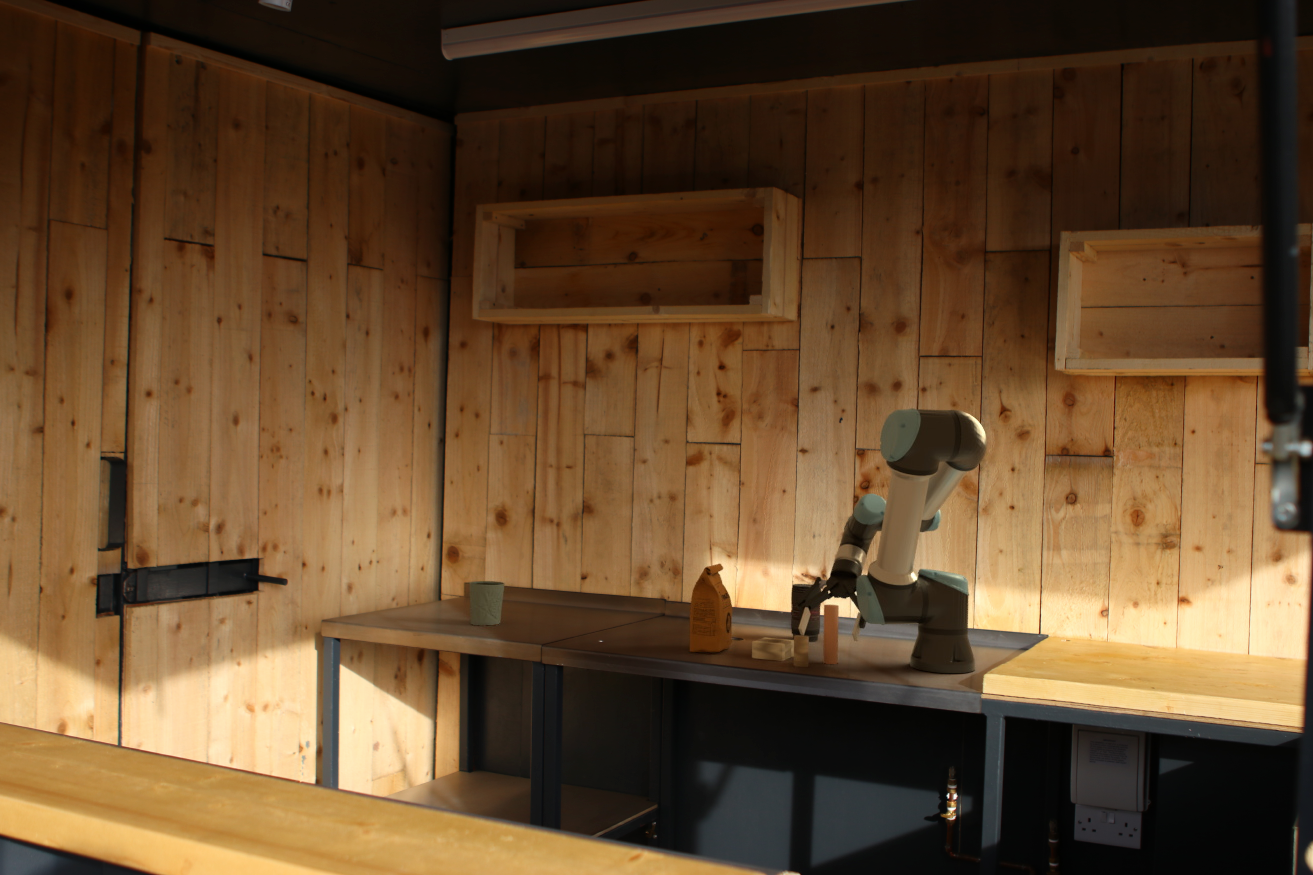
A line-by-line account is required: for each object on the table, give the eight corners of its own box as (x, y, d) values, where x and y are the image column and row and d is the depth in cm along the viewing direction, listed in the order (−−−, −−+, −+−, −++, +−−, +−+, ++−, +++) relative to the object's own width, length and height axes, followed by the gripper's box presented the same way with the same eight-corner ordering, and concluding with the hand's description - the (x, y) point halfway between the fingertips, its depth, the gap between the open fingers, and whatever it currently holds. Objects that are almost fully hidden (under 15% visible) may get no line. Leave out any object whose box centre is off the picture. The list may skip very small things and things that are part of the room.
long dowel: (839, 662, 272) (840, 605, 272) (835, 664, 269) (835, 606, 269) (825, 661, 274) (826, 604, 274) (821, 663, 271) (822, 605, 271)
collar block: (793, 656, 280) (793, 640, 280) (782, 660, 273) (782, 644, 273) (764, 652, 284) (764, 637, 284) (752, 657, 277) (752, 641, 277)
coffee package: (738, 648, 290) (739, 563, 290) (719, 656, 278) (721, 568, 279) (702, 645, 294) (704, 561, 294) (683, 652, 283) (685, 565, 283)
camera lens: (819, 642, 300) (820, 587, 300) (789, 641, 302) (790, 586, 302) (821, 638, 308) (822, 583, 308) (792, 636, 310) (792, 582, 310)
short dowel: (810, 665, 268) (810, 636, 268) (805, 667, 265) (805, 638, 265) (796, 663, 270) (797, 634, 270) (791, 666, 267) (791, 636, 267)
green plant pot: (463, 622, 326) (463, 581, 326) (494, 620, 331) (495, 579, 331) (477, 627, 317) (478, 585, 317) (509, 624, 323) (510, 583, 323)
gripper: (898, 579, 281) (880, 649, 268) (805, 572, 293) (783, 638, 279) (893, 560, 276) (874, 630, 263) (798, 554, 288) (775, 620, 275)
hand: (827, 634), depth 271 cm, fingers open, 13 cm apart
